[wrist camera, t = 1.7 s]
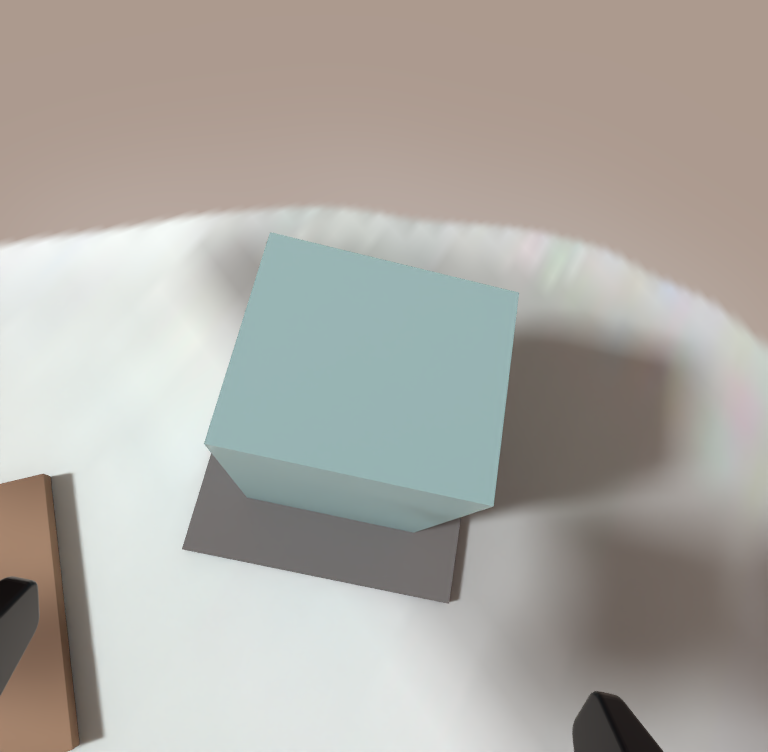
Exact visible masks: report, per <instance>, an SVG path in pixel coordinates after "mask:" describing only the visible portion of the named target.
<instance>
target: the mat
mask: <svg viewBox="0 0 768 752" xmlns="http://www.w3.org/2000/svg"><path fill="white" fill-rule="evenodd" d="M460 521H461V517H460V518H457V519H454V520H451V521H448V522H445V523H442V524H438V525H435V526H432V527H429V528H426V529H423V530H420V531H417V532H414V533H413V532H408V531H404V530H399V529H394V528H389V527H385V526H380V525H375V524H370V523H366V522H361V521H356V520H352V519H347V518H342V517H337V516H333V515H328V514H323V513H318V512H314V511H309V510H304V509H300V508H295V507H290V506H285V505H281V504H276V503H271V502H266V501H262V500H257V499H252V498H247V497H246V496H245V494H244V493H243V492H242V491H241V489H240V488H239V487H238V486H237V484H236V483H235V482H234V481H233V479H232V478H231V477H230V476H229V474H228V473H227V472H226V471H225V469H224V468H223V467H222V466H221V464H220V463H219V462H218V461H217V459H216V458H215V457H214V456H213V454H212V453H211V456H210V459H209V463H208V466H207V469H206V472H205V476H204V479H203V482H202V486H201V489H200V492H199V495H198V499H197V502H196V505H195V508H194V512H193V515H192V518H191V521H190V525H189V528H188V531H187V535H186V538H185V541H184V544H183V548H182V549H184V550H189V551H194V552H198V553H203V554H208V555H213V556H218V557H223V558H228V559H233V560H238V561H243V562H247V563H252V564H257V565H262V566H267V567H272V568H277V569H282V570H287V571H292V572H296V573H301V574H306V575H311V576H316V577H321V578H326V579H331V580H336V581H341V582H346V583H350V584H355V585H360V586H365V587H370V588H375V589H380V590H385V591H390V592H395V593H399V594H404V595H409V596H414V597H419V598H424V599H429V600H434V601H439V602H444V603H448V604H449V600H450V593H451V585H452V578H453V571H454V564H455V557H456V549H457V542H458V535H459V528H460Z"/></svg>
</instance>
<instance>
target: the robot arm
mask: <svg viewBox="0 0 768 752" xmlns="http://www.w3.org/2000/svg"><path fill="white" fill-rule="evenodd" d="M38 623H39V595H38V585H37V583H36V582H35V581H33V580H30V579H25V578H20V577H15V576H10V577H6V578H3V579H1V580H0V696H1V694H2V692H3V690H4V688H5V687H6V685H7V683H8V681H9V679H10V677H11V676H12V674H13V672H14V670H15V668H16V666H17V665H18V663H19V661H20V659H21V657H22V655H23V654H24V652H25V650H26V648H27V646H28V644H29V643H30V641H31V639H32V637H33V635H34V633H35V631H36V629H37V626H38ZM572 735H573V745H574V752H663V750H662V749H661V748H660V747H659V745H658V744H657V743H656V742H655V740H654V739H653V738H652V736H651V735H650V734H649V733H648V731H647V730H646V729H645V728H644V726H643V725H642V724H641V723H640V721H639V720H638V719H637V718H636V716H635V715H634V714H633V712H632V711H631V710H630V709H629V707H628V706H627V705H626V704H625V702H624V701H623V700H622V699H621V698H620V697H618V696H616V695H614V694H609V693H604V692H599V691H595V692H593V693H591V694H590V696H589V697H588V699H587V700H586V702H585V704H584V705H583V707H582V709H581V710H580V712H579V714H578V715H577V717H576V719H575V721H574V724H573V733H572Z"/></svg>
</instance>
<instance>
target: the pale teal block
mask: <svg viewBox="0 0 768 752" xmlns="http://www.w3.org/2000/svg"><path fill="white" fill-rule="evenodd" d="M518 297H519V293H518V292H514V291H510V290H506V289H502V288H498V287H494V286H489V285H485V284H481V283H477V282H473V281H469V280H465V279H461V278H456V277H452V276H448V275H444V274H440V273H436V272H432V271H428V270H423V269H419V268H415V267H411V266H407V265H403V264H399V263H395V262H391V261H386V260H382V259H378V258H374V257H370V256H366V255H362V254H358V253H353V252H349V251H345V250H341V249H337V248H333V247H329V246H325V245H320V244H316V243H312V242H308V241H304V240H300V239H296V238H292V237H287V236H283V235H279V234H275V233H271V232H270V234H269V238H268V241H267V244H266V247H265V250H264V254H263V257H262V260H261V263H260V266H259V270H258V273H257V276H256V279H255V282H254V286H253V289H252V292H251V295H250V298H249V302H248V305H247V308H246V311H245V314H244V318H243V321H242V324H241V327H240V330H239V334H238V337H237V340H236V343H235V346H234V350H233V353H232V356H231V359H230V362H229V366H228V369H227V372H226V375H225V378H224V382H223V385H222V388H221V391H220V394H219V398H218V401H217V404H216V407H215V410H214V414H213V417H212V420H211V423H210V426H209V430H208V433H207V436H206V439H205V442H204V444H205V446H206V447H207V448H208V449H209V451H210V452H211V453H212V454H213V456H214V457H215V458H216V459H217V461H218V462H219V463H220V464H221V466H222V467H223V468H224V469H225V471H226V472H227V473H228V474H229V476H230V477H231V478H232V479H233V481H234V482H235V483H236V484H237V486H238V487H239V488H240V489H241V491H242V492H243V493H244V494H245V496H246V497H247V498H252V499H257V500H262V501H266V502H271V503H276V504H281V505H285V506H290V507H295V508H300V509H304V510H309V511H314V512H318V513H323V514H328V515H333V516H337V517H342V518H347V519H352V520H356V521H361V522H366V523H370V524H375V525H380V526H385V527H389V528H394V529H399V530H404V531H408V532H413V533H414V532H417V531H420V530H423V529H426V528H429V527H432V526H435V525H438V524H442V523H445V522H448V521H451V520H454V519H457V518H460V517H463V516H466V515H469V514H472V513H475V512H478V511H481V510H484V509H487V508H490V507H493V506H494V498H495V490H496V481H497V473H498V464H499V456H500V448H501V439H502V431H503V423H504V414H505V406H506V397H507V389H508V381H509V372H510V364H511V356H512V347H513V339H514V331H515V322H516V314H517V305H518Z"/></svg>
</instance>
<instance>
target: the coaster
mask: <svg viewBox="0 0 768 752" xmlns="http://www.w3.org/2000/svg"><path fill="white" fill-rule="evenodd" d="M10 576H15V577H20V578H25V579H30V580H33V581H35V582H36V583H37V585H38V595H39V623H38V626H37V629H36V631H35V633H34V635H33V637H32V639H31V641H30V643H29V644H28V646H27V648H26V650H25V652H24V654H23V655H22V657H21V659H20V661H19V663H18V665H17V666H16V668H15V670H14V672H13V674H12V676H11V677H10V679H9V681H8V683H7V685H6V687H5V688H4V690H3V692H2V694H1V696H0V752H67V751H70V750H72V749H74V748H75V747H76V746H78V745H79V735H78V725H77V716H76V707H75V698H74V689H73V679H72V670H71V661H70V652H69V643H68V633H67V624H66V615H65V606H64V596H63V587H62V578H61V569H60V560H59V550H58V541H57V532H56V523H55V514H54V504H53V495H52V486H51V477H50V476H48V475H45V474H40V475H36V476H32V477H28V478H23V479H19V480H15V481H11V482H7V483H2V484H0V580H1V579H3V578H6V577H10Z"/></svg>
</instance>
